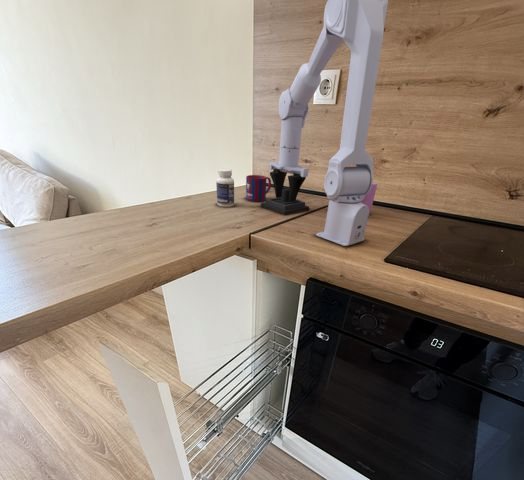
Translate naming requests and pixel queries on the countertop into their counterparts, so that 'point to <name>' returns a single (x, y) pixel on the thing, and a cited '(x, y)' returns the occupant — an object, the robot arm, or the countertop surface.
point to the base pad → (284, 206)
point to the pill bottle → (225, 188)
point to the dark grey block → (284, 197)
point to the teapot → (370, 197)
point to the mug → (256, 187)
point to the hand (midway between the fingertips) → (285, 199)
